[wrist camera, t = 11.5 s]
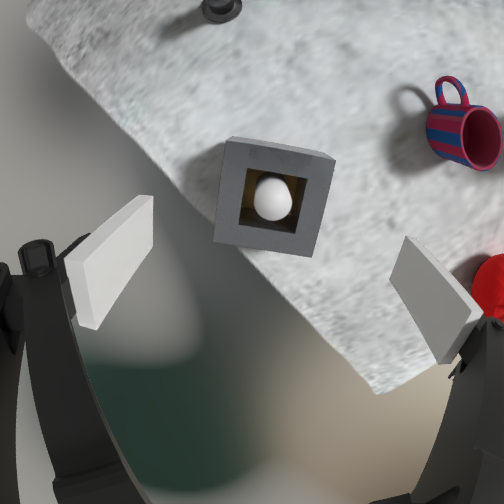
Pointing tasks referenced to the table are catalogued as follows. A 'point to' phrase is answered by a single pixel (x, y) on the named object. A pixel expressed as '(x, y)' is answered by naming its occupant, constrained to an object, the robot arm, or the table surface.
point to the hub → (269, 193)
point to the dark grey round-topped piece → (221, 9)
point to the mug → (464, 130)
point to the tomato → (490, 287)
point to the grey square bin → (248, 220)
